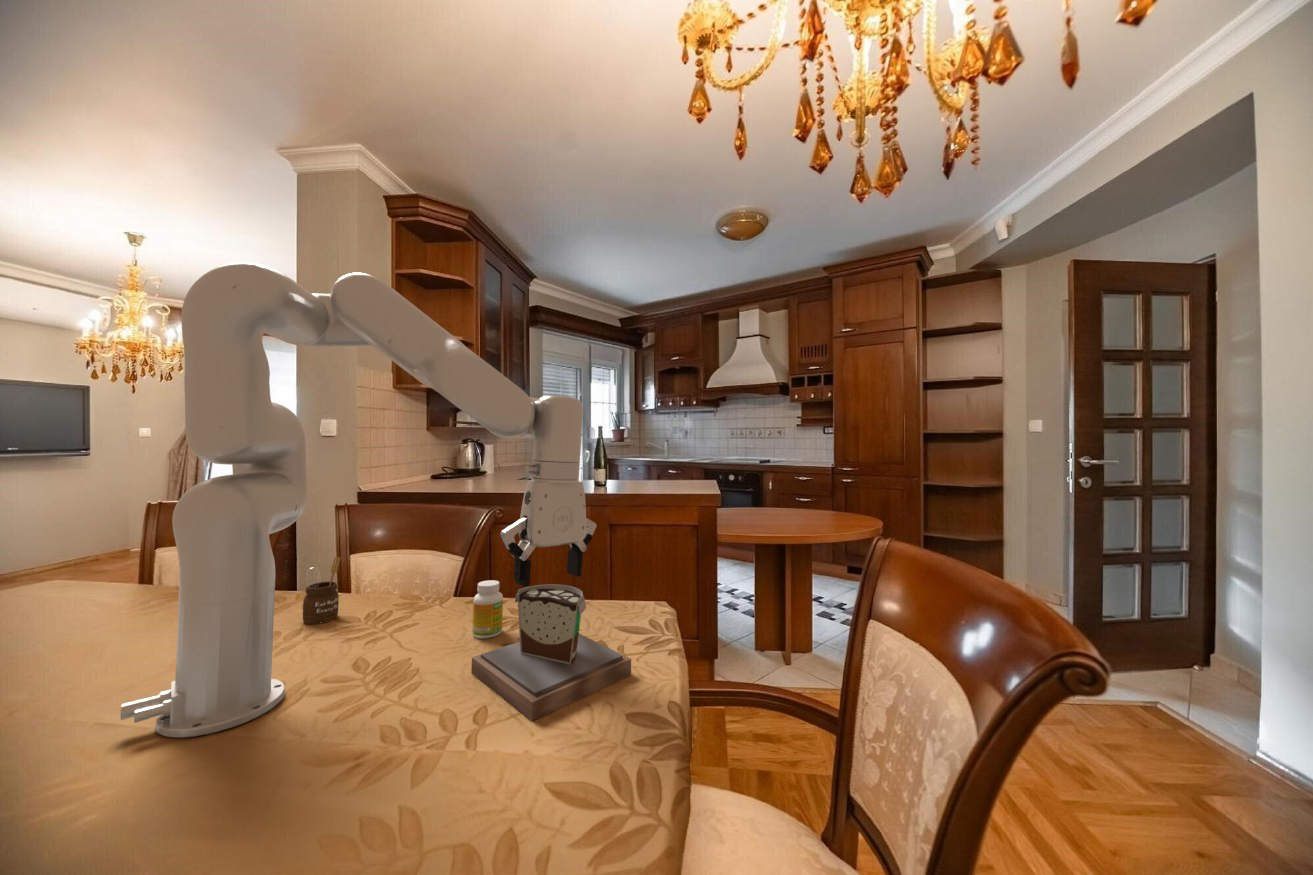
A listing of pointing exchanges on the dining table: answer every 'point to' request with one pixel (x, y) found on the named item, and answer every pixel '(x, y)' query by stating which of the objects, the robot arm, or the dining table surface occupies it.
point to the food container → (550, 621)
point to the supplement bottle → (487, 610)
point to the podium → (548, 676)
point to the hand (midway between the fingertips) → (549, 579)
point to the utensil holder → (321, 599)
